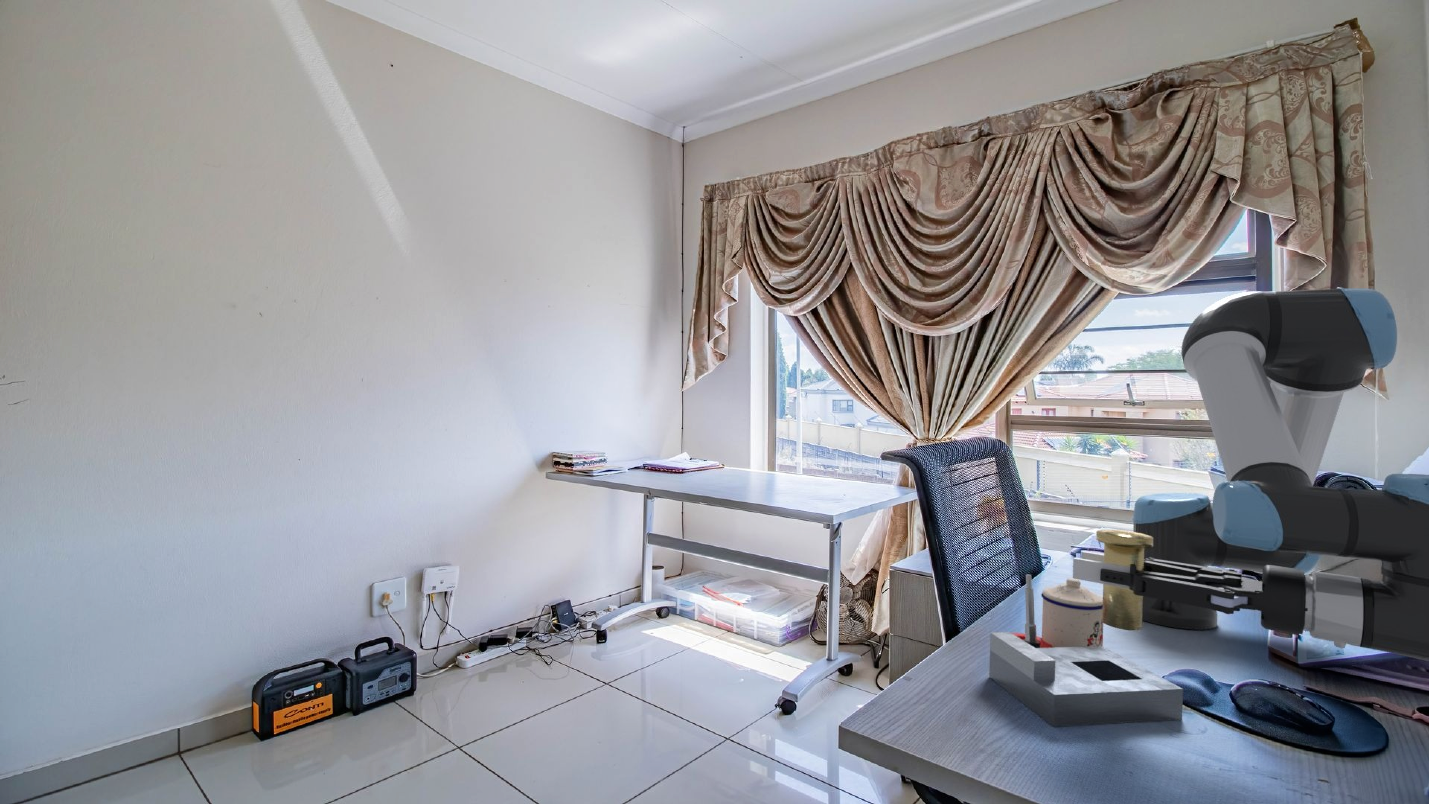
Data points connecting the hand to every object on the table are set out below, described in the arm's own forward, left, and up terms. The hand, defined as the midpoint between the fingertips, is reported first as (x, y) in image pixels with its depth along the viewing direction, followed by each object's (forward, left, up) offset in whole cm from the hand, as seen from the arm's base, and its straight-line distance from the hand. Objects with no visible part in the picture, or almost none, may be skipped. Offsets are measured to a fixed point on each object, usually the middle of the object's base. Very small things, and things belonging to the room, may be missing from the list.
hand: (1078, 564), depth 89 cm
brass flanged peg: (-3, +4, -7) cm, 9 cm away
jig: (+1, +2, -18) cm, 18 cm away
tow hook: (-2, -14, -18) cm, 23 cm away
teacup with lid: (-11, -14, -18) cm, 25 cm away
